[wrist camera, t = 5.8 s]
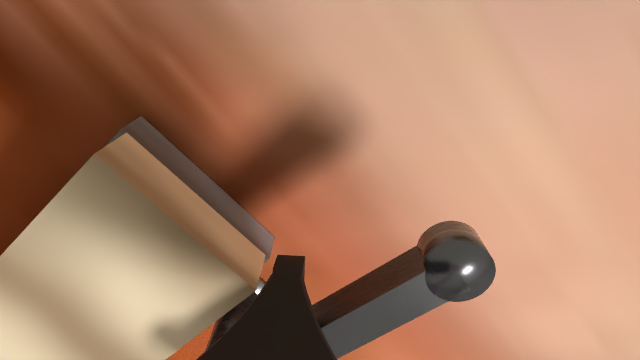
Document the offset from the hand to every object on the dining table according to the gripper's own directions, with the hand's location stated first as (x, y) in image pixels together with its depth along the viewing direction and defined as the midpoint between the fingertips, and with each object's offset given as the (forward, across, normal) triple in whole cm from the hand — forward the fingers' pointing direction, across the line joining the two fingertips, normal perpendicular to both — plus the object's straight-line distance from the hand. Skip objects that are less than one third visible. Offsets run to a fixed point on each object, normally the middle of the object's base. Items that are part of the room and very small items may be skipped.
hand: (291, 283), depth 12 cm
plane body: (+4, +12, +7) cm, 15 cm away
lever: (+4, -1, +1) cm, 4 cm away
